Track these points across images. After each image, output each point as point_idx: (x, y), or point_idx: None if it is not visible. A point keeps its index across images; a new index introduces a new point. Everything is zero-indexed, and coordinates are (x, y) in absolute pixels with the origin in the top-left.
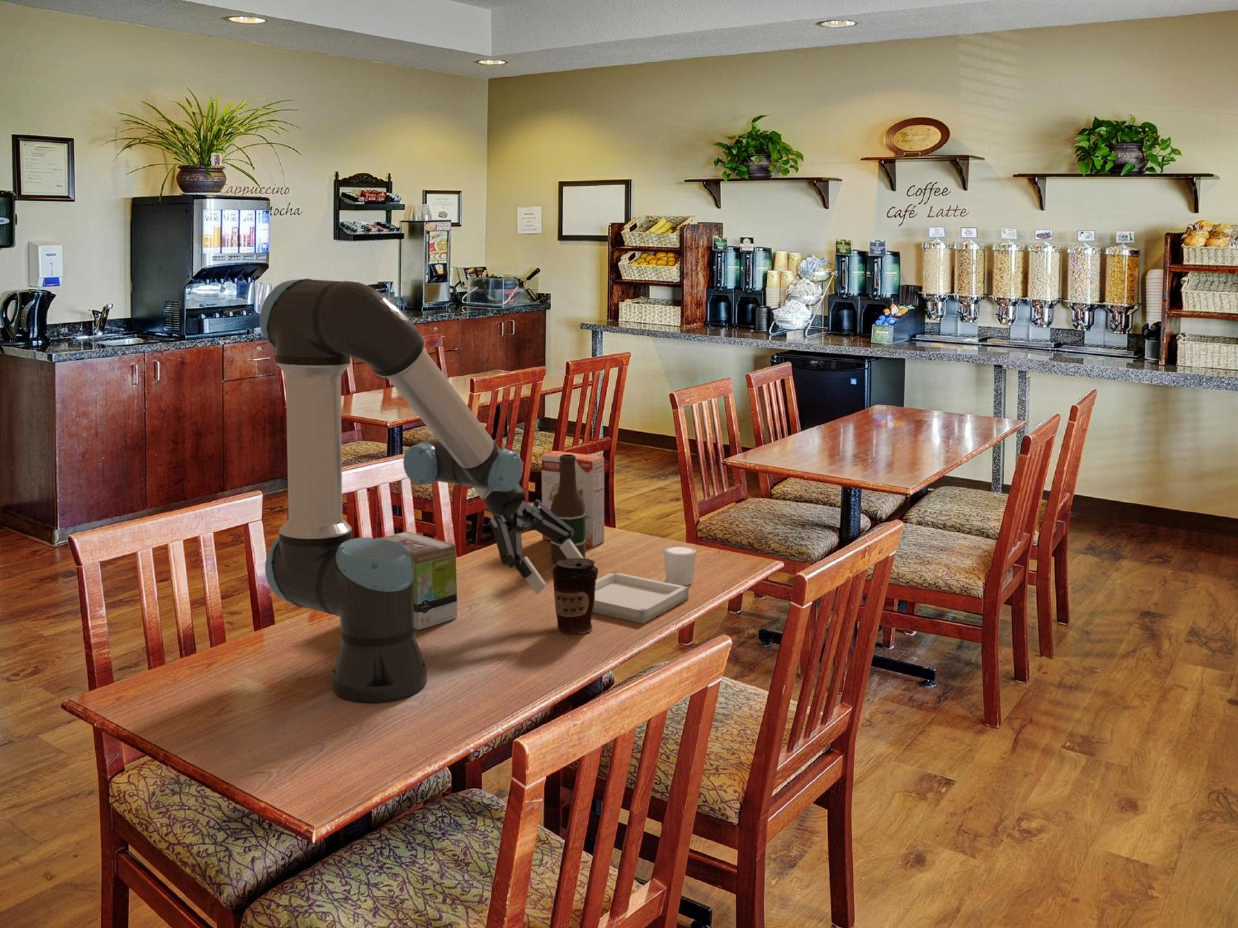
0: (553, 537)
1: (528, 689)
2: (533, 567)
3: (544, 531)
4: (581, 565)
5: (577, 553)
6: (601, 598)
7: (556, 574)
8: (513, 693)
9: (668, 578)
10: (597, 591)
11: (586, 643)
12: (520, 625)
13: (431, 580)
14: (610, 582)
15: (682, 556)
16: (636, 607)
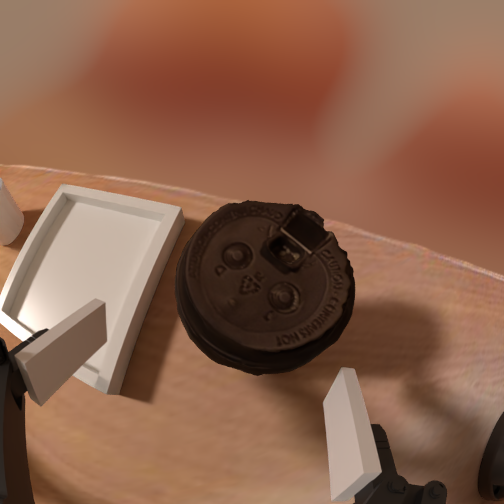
0: (20, 429)
1: (475, 294)
2: (360, 425)
3: (22, 474)
4: (277, 240)
5: (71, 327)
6: None
7: (345, 326)
8: (487, 304)
9: (10, 234)
10: None
11: None
12: (271, 451)
13: None
14: (16, 320)
15: (2, 188)
16: (162, 223)
